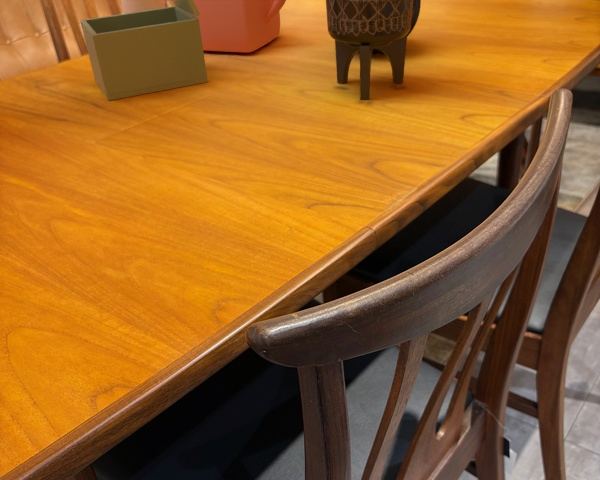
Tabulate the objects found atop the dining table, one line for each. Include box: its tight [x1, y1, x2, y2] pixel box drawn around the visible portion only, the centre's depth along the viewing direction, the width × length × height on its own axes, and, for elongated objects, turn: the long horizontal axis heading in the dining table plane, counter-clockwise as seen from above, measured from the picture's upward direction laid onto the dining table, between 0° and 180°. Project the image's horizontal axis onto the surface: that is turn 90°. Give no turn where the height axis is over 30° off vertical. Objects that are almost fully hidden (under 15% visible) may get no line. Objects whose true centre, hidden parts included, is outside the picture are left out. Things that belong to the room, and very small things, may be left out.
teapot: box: [190, 0, 287, 53], centre depth 118 cm, size 20×22×14 cm
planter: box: [325, 0, 413, 101], centre depth 90 cm, size 13×13×18 cm
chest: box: [79, 5, 209, 101], centre depth 101 cm, size 17×13×10 cm
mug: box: [120, 0, 167, 14], centre depth 118 cm, size 12×8×12 cm
